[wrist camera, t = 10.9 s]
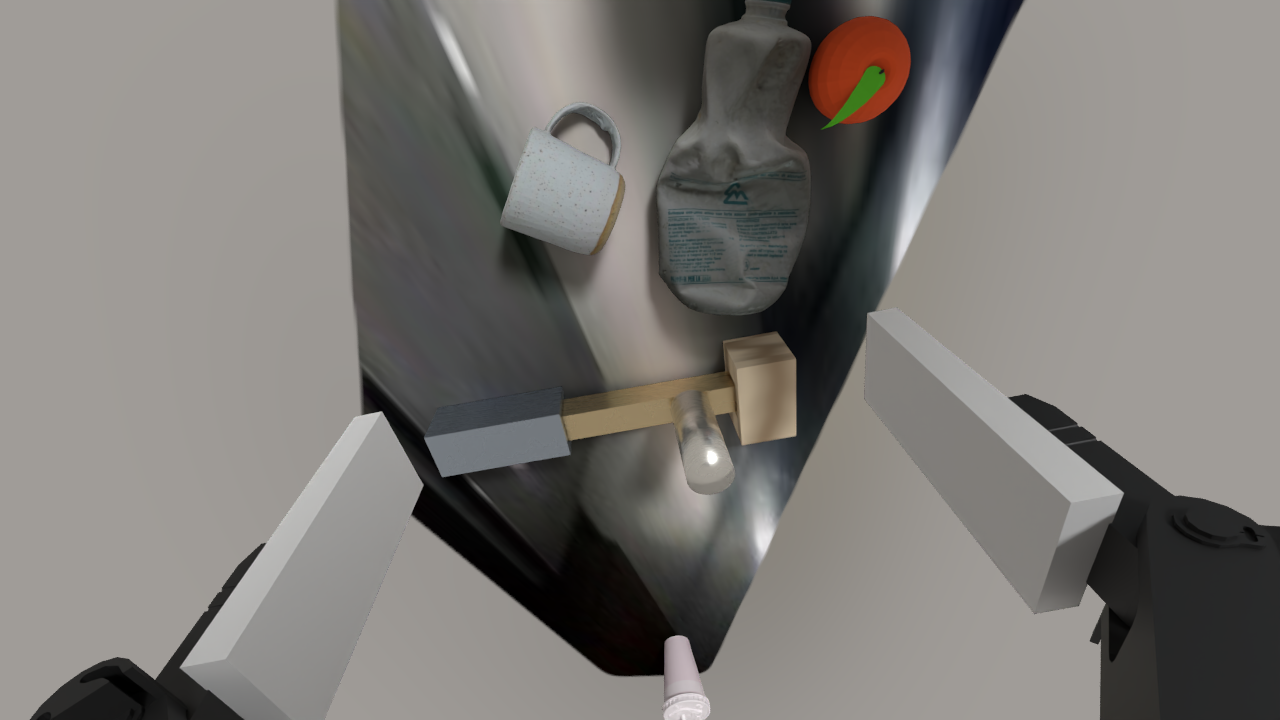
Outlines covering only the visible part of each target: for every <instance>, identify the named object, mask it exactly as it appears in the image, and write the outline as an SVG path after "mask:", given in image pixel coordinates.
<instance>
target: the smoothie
mask: <svg viewBox="0 0 1280 720" xmlns="http://www.w3.org/2000/svg"><path fill="white" fill-rule="evenodd" d="M664 698H665V699H664V700H665V701H664V702H665V703H664V705H663V708H662V710H663V716H664V719H665V720H704V719H706V718H707V717H708V715H709V714H710V704H709V700H708V699H707V697H705V693H704V690H703V687H702V683H701V680H700V677H699V673H698V670H697V667H696V663H695V660H694V657H693V653H692V650H691V647H690V643H689V640H688V639H687V638H686V637H684V636H672V637H670V638H668V639H667V640H666V641H665V643H664Z"/></svg>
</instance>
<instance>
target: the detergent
mask: <svg viewBox="0 0 1280 720" xmlns="http://www.w3.org/2000/svg"><path fill="white" fill-rule="evenodd" d="M745 4H746V13H745V14H744V15H743V16H742V17H741V19H740V20H739V21H735V22H730V23H727V24H725V25H721V26H718V27H717V28H715V29H714V30H712V32H711V33H710V34H709V36H708V39H707V44H706V50H705V57H704V69H703V80H702V105H701V110H700V111H699V113H698V116H697V119H696V120H695V121H694V123H693V124H692V125H691V126H690V127H689V128H688V129H687V130H686V131H685V132H684V134H682V135H681V136H680V137H679V138H678V139H677V141H676V142H675V144H674V146H673V148H672V150H671V151H670V153H669V156H668V158H667V160H666V163H665V165H664V167H663V169H662V172H661V175H660V177H659V179H658V183H657V191H656V200H657V212H658V238H659V275H660V276H661V278H662V279H663V281H664V282H665V283H666V284H667V286H668V288H669V289H670V290H671V291H672V293H673V294H674V295H675V296H676V297H677V298H678V299H679V300H680V301H681V302H682V303H683V304H685V305H686V306H687V307H688V308H690V309H693V310H695V311H699V312H703V313H709V314H714V315H734V316H736V315H748V314H753V313H759V312H761V311H764V310H765V309H767V308H768V307H769V306H771V305H772V304H773V303H775V302H776V301H777V300H778V299H779V297H780V296H781V294H782V293H783V292H784V291H785V289H786V286H787V283H788V277H789V275H790V273H791V271H792V268H793V265H794V264H795V262H796V259H797V257H798V255H799V252H800V249H801V246H802V243H803V240H804V237H805V234H806V229H807V224H808V217H809V216H808V214H809V207H810V196H811V174H810V164H809V160H808V156H807V154H806V152H805V151H804V150H803V149H802V148H801V147H799V146H798V145H797V144H796V143H794V142H792V141H791V140H790V139H789V138H788V137H787V136H786V135H785V134H786V128H787V125H788V122H789V119H790V115H791V112H792V109H793V106H794V102H795V99H796V97H797V95H798V91H799V88H800V86H801V83H802V80H803V77H804V74H805V71H806V68H807V65H808V61H809V57H810V53H811V41H810V39H809V37H807V36H806V35H805V34H803V33H801V32H799V31H797V30H795V29H792V28H790V27H788V26H787V21H786V20H785V15H786V13H787V11H788V10H789V9H790V4H791V0H745Z"/></svg>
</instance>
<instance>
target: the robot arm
mask: <svg viewBox="0 0 1280 720" xmlns="http://www.w3.org/2000/svg"><path fill="white" fill-rule="evenodd" d="M865 365H866V366H865V390H864V399H865V400H866V402H867V403H868V404H869V406H870V407H871V408H872V409H873V410H874V412H875V413H876V414H877V416H878V417H879V418H880V419H881V421H882V422H883V423H884V424H885V426H886V427H887V428H888V430H889V431H890V432H891V433H892V434H893V436H894V437H895V438H896V440H897V441H898V442H899V443H900V445H901V446H902V447H903V448H904V450H905V451H906V452H907V454H908V455H909V456H910V457H911V459H912V460H913V461H914V462H915V464H916V465H917V466H918V468H919V469H920V470H921V471H922V473H923V474H924V475H925V476H926V478H927V479H928V480H929V481H930V483H931V484H932V485H933V487H934V488H935V489H936V490H937V492H938V493H939V494H940V495H941V497H942V498H943V499H944V500H945V502H946V503H947V504H948V505H949V507H950V508H951V509H952V511H953V512H954V513H955V514H956V515H957V517H958V518H959V519H960V521H961V522H962V523H963V525H964V526H965V527H966V528H967V530H968V531H969V532H970V533H971V535H972V536H973V537H974V538H975V540H976V541H977V542H978V543H979V545H980V546H981V547H982V549H983V550H984V551H985V552H986V554H987V555H988V556H989V557H990V559H991V560H992V561H993V563H994V564H995V565H996V566H997V568H998V569H999V570H1000V571H1001V573H1002V574H1003V575H1004V576H1005V578H1006V579H1007V580H1008V581H1009V583H1010V584H1011V585H1012V587H1013V588H1014V589H1015V590H1016V591H1017V593H1018V594H1019V595H1020V597H1021V598H1022V599H1023V600H1024V602H1025V603H1026V604H1027V605H1028V607H1029V608H1030V609H1031V610H1032V612H1033V613H1034V614H1037V613H1043V612H1048V611H1053V610H1059V609H1065V608H1071V607H1076V606H1079V604H1080V602H1081V599H1082V596H1083V594H1084V591H1085V589H1086V587H1087V584H1088V585H1089V586H1090V587H1091V588H1092V589H1093V590H1094V591H1095V592H1096V593H1097V594H1098V595H1099V596H1100V597H1101V599H1102V600H1103V601H1104V602H1105V603H1106V604H1105V606H1104V609H1103V611H1102V613H1101V615H1100V618H1099V620H1098V623H1097V624H1096V627H1095V629H1094V631H1093V634H1092V637H1091V639H1090V642H1093V643H1096V644H1099V642H1100V640H1101V686H1100V720H1280V527H1279V526H1264V525H1258V524H1257V523H1256V522H1254V521H1253V520H1252V519H1251V518H1249V517H1247V516H1245V515H1243V514H1241V513H1239V512H1237V511H1235V510H1233V509H1231V508H1229V507H1227V506H1224V505H1220V504H1218V503H1215V502H1211V501H1208V500H1205V499H1201V498H1193V497H1186V496H1174V495H1173V494H1171V493H1170V492H1168V491H1167V490H1166V489H1164V488H1163V487H1162V486H1160V485H1159V484H1158V483H1156V482H1155V481H1154V480H1152V479H1151V478H1149V477H1148V476H1147V475H1145V474H1144V473H1143V472H1142V471H1140V470H1139V469H1138V468H1136V467H1135V466H1134V465H1132V464H1131V463H1130V462H1128V461H1127V460H1126V459H1124V458H1123V457H1122V456H1120V455H1119V454H1118V453H1116V452H1115V451H1114V450H1112V449H1111V448H1110V447H1108V446H1107V445H1106V444H1104V443H1103V442H1102V441H1097V440H1096V437H1095V436H1094V435H1092V434H1091V433H1090V432H1088V431H1087V430H1086V429H1084V428H1083V427H1079V426H1078V425H1077V423H1076V422H1075V421H1074V420H1072V419H1071V418H1070V417H1068V416H1067V415H1066V414H1064V413H1063V412H1062V411H1060V410H1059V409H1058V408H1057V407H1055V406H1053V405H1050V404H1048V403H1046V402H1043V401H1041V400H1039V399H1036V398H1034V397H1032V396H1029V395H1027V394H1024V395H1020V396H1014V397H1009V398H1007V397H1006V396H1005V395H1004V394H1002V393H1001V392H1000V391H999V390H997V389H996V388H995V387H994V386H993V385H991V384H990V383H989V382H988V381H986V380H985V379H984V378H983V377H982V376H980V375H979V374H978V373H977V372H975V371H974V370H973V369H972V368H971V367H969V366H968V365H967V364H966V363H964V362H963V361H962V360H961V359H960V358H958V357H957V356H956V355H955V354H953V353H952V352H951V351H950V350H949V349H947V348H946V347H945V346H944V345H942V344H941V343H940V342H939V341H937V340H936V339H935V338H934V337H933V336H931V335H930V334H929V333H928V332H927V331H925V330H924V329H923V328H922V327H920V326H919V325H918V324H917V323H916V322H914V321H913V320H912V319H911V318H909V317H908V316H907V315H906V314H904V313H903V312H902V311H901V310H900V309H898V308H897V307H896V308H891V309H886V310H881V311H876V312H871V313H867V336H866V363H865ZM422 487H423V484H422V482H421V480H420V478H419V477H418V475H417V473H416V471H415V469H414V468H413V466H412V464H411V462H410V461H409V459H408V457H407V455H406V453H405V452H404V450H403V448H402V446H401V444H400V443H399V441H398V439H397V437H396V436H395V434H394V432H393V430H392V428H391V427H390V425H389V423H388V421H387V420H386V418H385V416H384V414H383V412H377V413H372V414H367V415H362V416H357V417H354V419H353V420H352V422H351V423H350V425H349V426H348V428H347V429H346V430H345V432H344V433H343V435H342V436H341V437H340V439H339V440H338V442H337V443H336V445H335V446H334V447H333V449H332V450H331V452H330V453H329V455H328V456H327V458H326V459H325V460H324V462H323V463H322V465H321V466H320V468H319V469H318V471H317V472H316V473H315V475H314V476H313V478H312V479H311V480H310V482H309V483H308V485H307V486H306V488H305V489H304V491H303V492H302V493H301V495H300V496H299V498H298V499H297V501H296V502H295V503H294V505H293V506H292V508H291V509H290V511H289V512H288V513H287V515H286V516H285V518H284V519H283V520H282V522H281V523H280V525H279V526H278V528H277V529H276V531H275V532H274V533H273V535H272V536H271V538H270V539H269V540H268V542H267V543H264V544H261V545H260V546H259V547H257V549H255V550H254V551H253V552H252V553H251V554H250V555H249V556H248V557H247V558H246V559H245V560H243V561H242V562H241V563H240V564H239V565H238V566H237V568H236V569H235V571H234V572H233V573H232V575H231V576H230V577H229V579H228V580H227V582H226V583H225V584H224V586H223V587H222V592H219V593H218V594H217V595H216V597H215V598H214V599H213V601H212V602H211V604H210V605H209V607H208V608H209V610H208V611H207V612H204V613H203V615H202V616H201V617H200V619H199V620H198V622H197V623H196V624H195V626H194V627H193V628H192V630H191V631H190V633H189V634H188V635H187V637H186V638H185V640H184V641H183V642H182V644H181V645H180V647H179V648H178V649H177V651H176V652H175V653H174V655H173V656H172V657H171V659H170V660H169V662H168V663H167V665H166V666H165V667H164V669H163V670H162V671H161V673H160V674H159V675H158V677H157V678H156V680H154V679H153V678H152V677H151V676H149V675H148V674H147V673H145V672H144V671H143V670H142V669H140V668H139V667H138V666H137V665H135V664H134V663H133V662H131V661H130V660H129V659H125V658H119V657H117V658H113V659H110V660H106V661H102V662H100V663H98V664H96V665H94V666H92V667H91V668H88V669H87V670H85V671H83V672H81V673H80V674H79V675H77V676H75V677H74V678H73V679H71V680H70V681H68V682H67V683H66V684H64V685H63V686H62V687H60V688H59V689H58V690H57V691H56V692H55V693H54V694H53V695H52V696H51V697H50V698H49V699H47V700H46V701H45V702H44V703H43V704H42V705H41V706H40V707H39V709H38V710H37V711H36V713H35V714H34V715H33V716H32V718H31V719H30V720H324V719H325V717H326V714H327V712H328V710H329V707H330V705H331V703H332V700H333V698H334V696H335V693H336V691H337V688H338V686H339V683H340V681H341V679H342V677H343V674H344V672H345V670H346V667H347V665H348V662H349V660H350V657H351V655H352V653H353V650H354V648H355V646H356V643H357V641H358V639H359V636H360V634H361V631H362V629H363V627H364V624H365V622H366V620H367V617H368V615H369V613H370V610H371V608H372V606H373V603H374V601H375V598H376V596H377V594H378V591H379V589H380V587H381V584H382V582H383V579H384V577H385V575H386V572H387V570H388V568H389V565H390V563H391V561H392V558H393V556H394V553H395V551H396V548H397V546H398V544H399V542H400V539H401V537H402V534H403V532H404V530H405V527H406V525H407V523H408V520H409V518H410V516H411V513H412V511H413V508H414V506H415V504H416V501H417V499H418V497H419V494H420V492H421V489H422Z"/></svg>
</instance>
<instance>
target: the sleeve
mask: <svg viewBox="0 0 1280 720" xmlns="http://www.w3.org/2000/svg"><path fill="white" fill-rule="evenodd" d="M564 399H565V396H564V392H563V389H562V386H561V387H555V388H549V389H544V390H538V391H532V392H527V393H521V394H515V395H510V396H504V397H498V398H492V399H487V400H481V401H475V402H470V403H464V404H458V405H453V406H447V407H441V408H438V409H437V411H436V413H435V416H434V418H433V420H432V422H431V424H430V426H429V428H428V431H427V433H426V435H425V437H424V439H425V441H426V443H427V445H428V448H429V450H430V452H431V454H432V456H433V458H434V461H435V463H436V465H437V467H438V469H439V471H440V474H441V476H442V477H446V476H452V475H458V474H464V473H469V472H475V471H481V470H486V469H492V468H498V467H504V466H509V465H515V464H521V463H527V462H532V461H538V460H544V459H549V458H555V457H561V456H567V455H571V440H570V441H568V438H567V435H566V431H565V428H564V424H563V421H562V417H561V412H562V401H563V400H564Z"/></svg>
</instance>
